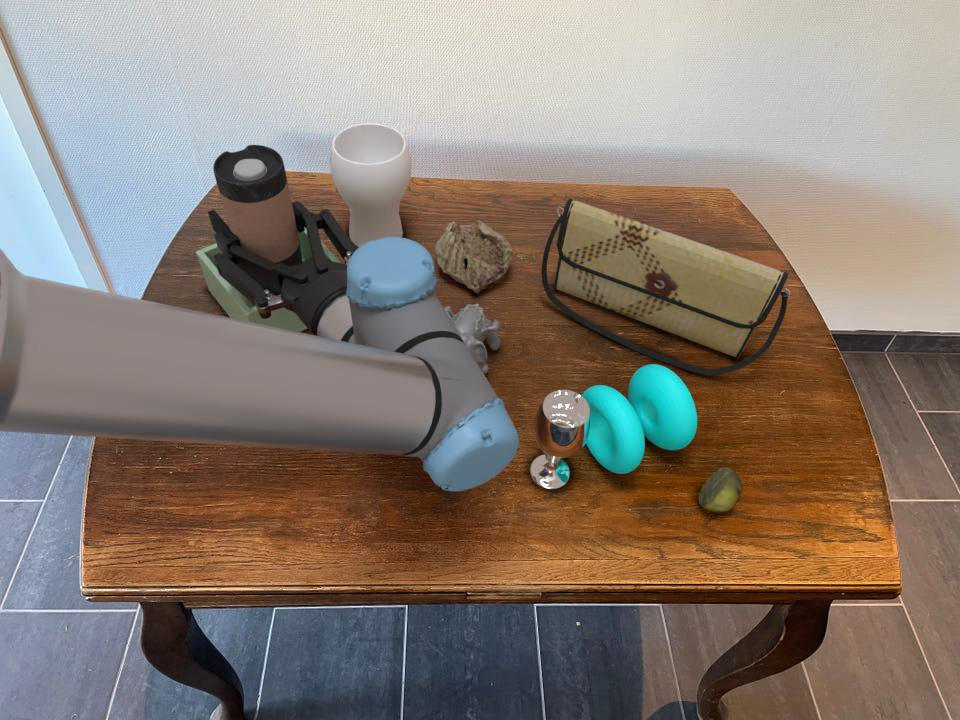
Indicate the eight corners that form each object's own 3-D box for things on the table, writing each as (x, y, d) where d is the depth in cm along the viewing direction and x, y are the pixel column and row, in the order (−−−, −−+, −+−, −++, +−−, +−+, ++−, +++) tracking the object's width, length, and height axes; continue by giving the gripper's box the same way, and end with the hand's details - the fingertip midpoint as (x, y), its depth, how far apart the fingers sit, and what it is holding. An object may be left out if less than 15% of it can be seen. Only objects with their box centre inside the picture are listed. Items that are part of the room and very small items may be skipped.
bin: (257, 353, 85) (246, 315, 80) (208, 290, 92) (195, 251, 86) (351, 306, 91) (347, 268, 86) (299, 250, 97) (292, 211, 92)
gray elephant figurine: (498, 333, 89) (503, 291, 84) (502, 408, 82) (508, 368, 76) (427, 331, 89) (427, 289, 83) (424, 407, 81) (424, 366, 75)
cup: (336, 257, 97) (323, 166, 85) (342, 209, 104) (331, 119, 92) (412, 258, 98) (409, 168, 86) (413, 211, 104) (411, 121, 93)
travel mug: (295, 320, 88) (266, 190, 73) (239, 308, 89) (198, 177, 73) (317, 280, 93) (295, 150, 77) (264, 269, 94) (231, 138, 78)
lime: (700, 521, 74) (715, 499, 70) (687, 481, 77) (700, 458, 73) (739, 518, 74) (756, 496, 70) (725, 479, 77) (740, 455, 74)
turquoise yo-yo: (687, 460, 79) (714, 409, 71) (614, 494, 75) (635, 444, 68) (636, 396, 84) (657, 343, 76) (566, 425, 81) (581, 372, 73)
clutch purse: (527, 309, 93) (541, 220, 81) (547, 277, 97) (563, 189, 85) (746, 395, 85) (796, 311, 74) (758, 357, 89) (806, 272, 78)
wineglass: (560, 442, 79) (577, 378, 70) (585, 483, 76) (606, 421, 67) (515, 459, 77) (526, 395, 68) (539, 502, 74) (554, 440, 65)
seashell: (463, 314, 95) (528, 281, 94) (444, 288, 89) (514, 253, 88) (439, 255, 101) (500, 224, 100) (420, 227, 95) (485, 193, 94)
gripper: (265, 383, 72) (173, 263, 83) (422, 302, 81) (320, 202, 92) (251, 336, 67) (154, 213, 77) (421, 253, 75) (313, 153, 86)
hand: (244, 207), depth 85 cm, fingers closed on travel mug, 7 cm apart
